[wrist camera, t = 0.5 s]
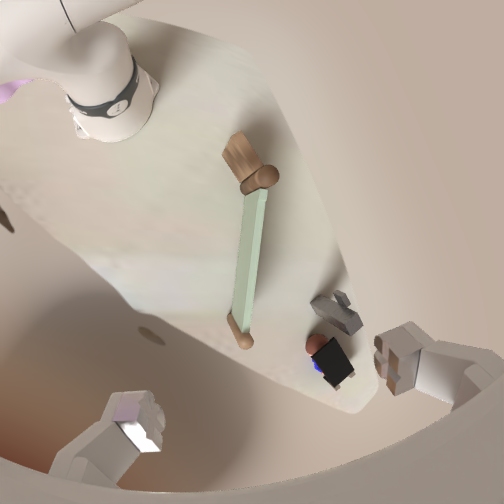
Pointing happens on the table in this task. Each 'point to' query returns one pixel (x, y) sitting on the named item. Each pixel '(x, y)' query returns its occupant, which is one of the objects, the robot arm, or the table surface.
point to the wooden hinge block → (248, 165)
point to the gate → (247, 267)
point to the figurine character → (329, 359)
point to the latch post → (338, 312)
